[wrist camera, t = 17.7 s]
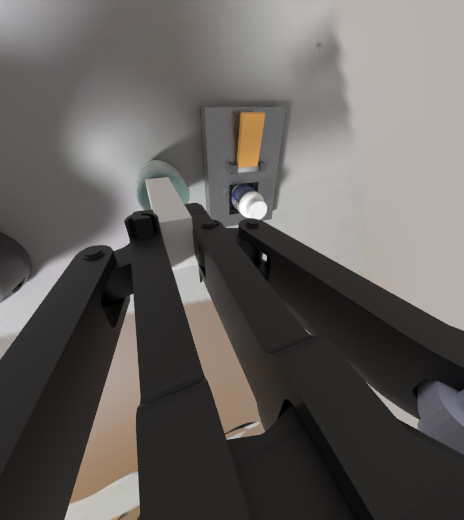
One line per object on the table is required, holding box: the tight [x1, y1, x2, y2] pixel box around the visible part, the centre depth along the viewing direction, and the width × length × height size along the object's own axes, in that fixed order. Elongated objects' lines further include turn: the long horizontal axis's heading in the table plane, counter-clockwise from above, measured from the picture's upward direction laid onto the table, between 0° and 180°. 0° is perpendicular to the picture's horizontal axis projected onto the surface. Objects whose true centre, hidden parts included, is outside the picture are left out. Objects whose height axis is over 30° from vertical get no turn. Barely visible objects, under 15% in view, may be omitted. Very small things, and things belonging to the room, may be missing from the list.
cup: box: [136, 160, 189, 210], centre depth 38 cm, size 8×8×10 cm
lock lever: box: [236, 112, 265, 173], centre depth 39 cm, size 4×10×1 cm, turn 0°
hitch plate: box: [200, 107, 286, 227], centre depth 44 cm, size 15×22×5 cm
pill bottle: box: [229, 183, 267, 220], centre depth 46 cm, size 5×5×10 cm
